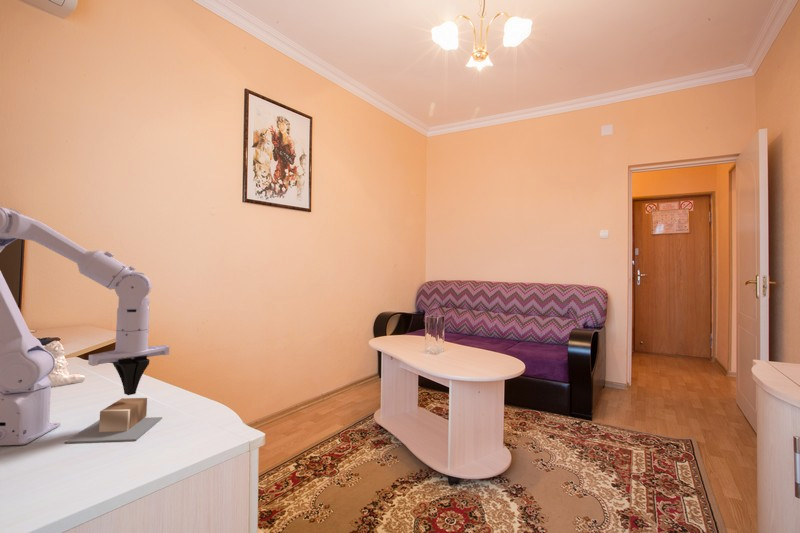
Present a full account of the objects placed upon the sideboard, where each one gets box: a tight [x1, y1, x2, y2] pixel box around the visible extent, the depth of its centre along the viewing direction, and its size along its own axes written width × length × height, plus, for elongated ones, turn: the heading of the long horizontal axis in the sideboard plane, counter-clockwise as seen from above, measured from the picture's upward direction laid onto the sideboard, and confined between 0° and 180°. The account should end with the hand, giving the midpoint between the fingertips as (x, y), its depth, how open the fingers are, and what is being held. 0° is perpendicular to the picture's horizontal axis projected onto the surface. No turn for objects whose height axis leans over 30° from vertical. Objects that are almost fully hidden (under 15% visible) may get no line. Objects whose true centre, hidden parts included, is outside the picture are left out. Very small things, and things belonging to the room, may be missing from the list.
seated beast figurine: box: [42, 340, 86, 388], centre depth 107 cm, size 10×9×12 cm
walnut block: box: [99, 397, 148, 432], centre depth 81 cm, size 4×5×8 cm
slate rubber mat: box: [64, 416, 163, 444], centre depth 79 cm, size 11×12×1 cm
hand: (129, 393), depth 83 cm, fingers closed
